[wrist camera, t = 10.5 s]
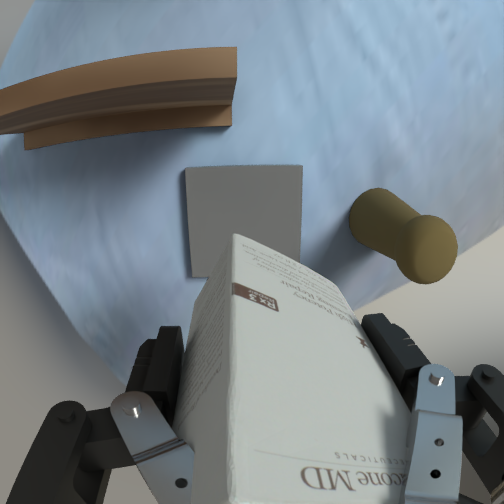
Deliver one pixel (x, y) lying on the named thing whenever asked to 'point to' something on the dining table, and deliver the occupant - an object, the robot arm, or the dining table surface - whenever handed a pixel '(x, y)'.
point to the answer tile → (242, 210)
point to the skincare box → (285, 390)
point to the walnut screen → (123, 97)
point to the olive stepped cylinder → (404, 235)
